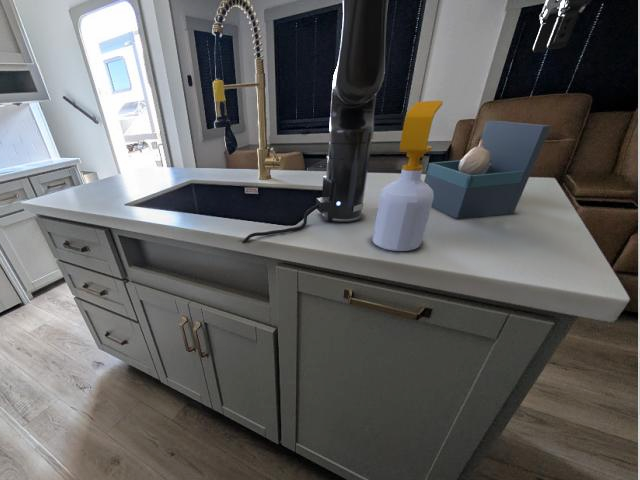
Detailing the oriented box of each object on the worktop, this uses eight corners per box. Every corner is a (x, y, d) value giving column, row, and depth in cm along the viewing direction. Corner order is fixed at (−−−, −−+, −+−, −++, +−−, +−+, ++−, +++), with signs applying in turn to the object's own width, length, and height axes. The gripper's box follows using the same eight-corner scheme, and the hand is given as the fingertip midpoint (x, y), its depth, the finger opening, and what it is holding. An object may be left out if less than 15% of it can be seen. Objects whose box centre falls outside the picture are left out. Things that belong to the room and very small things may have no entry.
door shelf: (456, 219, 72) (485, 131, 62) (419, 200, 85) (438, 125, 75) (513, 213, 72) (551, 125, 62) (467, 195, 85) (493, 120, 75)
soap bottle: (426, 239, 64) (466, 98, 50) (411, 256, 58) (451, 102, 45) (382, 231, 69) (407, 101, 55) (365, 245, 64) (388, 105, 50)
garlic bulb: (492, 178, 73) (506, 140, 68) (474, 182, 71) (487, 144, 66) (464, 173, 78) (475, 138, 73) (447, 177, 76) (457, 141, 71)
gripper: (553, -79, 47) (509, 55, 56) (589, -122, 37) (528, 50, 46) (620, -94, 44) (563, 49, 53) (681, -146, 34) (596, 43, 43)
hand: (547, 50), depth 50 cm, fingers open, 8 cm apart
